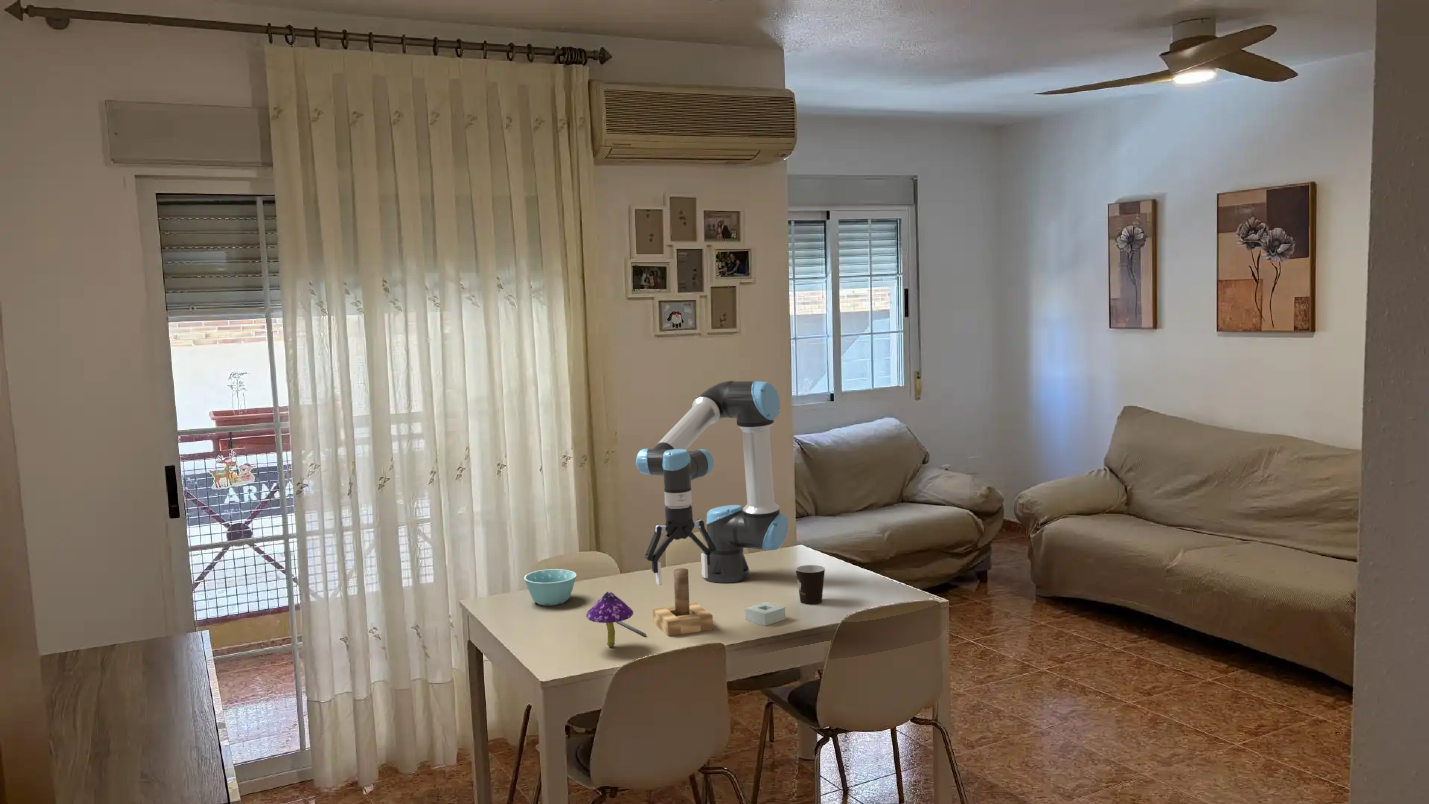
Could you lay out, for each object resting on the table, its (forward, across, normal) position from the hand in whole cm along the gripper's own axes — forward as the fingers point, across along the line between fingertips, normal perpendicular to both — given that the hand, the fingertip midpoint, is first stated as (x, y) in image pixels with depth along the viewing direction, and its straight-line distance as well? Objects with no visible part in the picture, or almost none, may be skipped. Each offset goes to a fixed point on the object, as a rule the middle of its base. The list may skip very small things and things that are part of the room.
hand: (682, 580), depth 298 cm
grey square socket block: (+13, +22, -6) cm, 27 cm away
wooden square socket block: (+13, -1, 0) cm, 13 cm away
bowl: (+13, -29, +40) cm, 51 cm away
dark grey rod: (+13, -15, +4) cm, 20 cm away
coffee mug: (+14, +42, +6) cm, 45 cm away
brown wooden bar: (+13, -1, 0) cm, 13 cm away
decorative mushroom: (+13, -24, -8) cm, 28 cm away
